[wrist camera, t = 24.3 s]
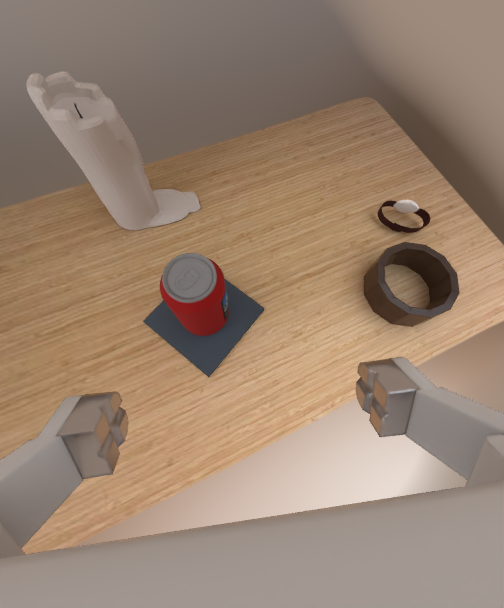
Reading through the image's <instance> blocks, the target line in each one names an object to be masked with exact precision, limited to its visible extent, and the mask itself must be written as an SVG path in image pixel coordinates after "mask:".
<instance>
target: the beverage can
mask: <svg viewBox="0 0 504 608" xmlns="http://www.w3.org/2000/svg"><path fill="white" fill-rule="evenodd" d="M160 291H161V295H162V297H163V299H164V301H165V302H166V304H167V305H168V307H169V308H170V309H171V311H172V312H173V313H174V315H175V316H176V317H177V319H178V320H179V321H180V322H181V324H182V325H183V326H184V327H185V328H186V329H187V330H188V331H189V332H191V333H192V334H195V335H198V336H208V335H212V334H214V333H216V332H218V331H219V330H220V329H221V328H222V327H223V326H224V325H225V323H226V322H227V319H228V315H229V307H228V299H227V293H226V287H225V281H224V276H223V273H222V271H221V269H220V268H219V266H218V265H217V264H216V263H215V262H213V261H212V260H210V259H208V258H206V257H205V256H203V255H200V254H196V253H186V254H182V255H179V256H177V257H175V258H174V259H172V260H171V261H170V262H169V263H168V264H167V266H166V267H165V269H164V272H163V275H162V277H161V282H160Z"/></svg>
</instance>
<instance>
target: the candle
mask: <svg viewBox="0 0 504 608" xmlns="http://www.w3.org/2000/svg"><path fill="white" fill-rule="evenodd" d="M27 90H28V93H29V95H30V97H31V99H32V101H33V102H34V104H35V105H36V107H37V108H38V110H39V111H40V113H41V114H42V116H43V117H44V118H45V120H46V121H47V123H48V124H49V126H50V127H51V129H52V130H53V131H54V133H55V134H56V136H57V137H58V138H59V140H60V141H61V142H62V144H63V145H64V146H65V147H66V149H67V150H68V151H69V153H70V154H71V155H72V157H73V158H74V159H75V161H76V162H77V163H78V165H79V166H80V168H81V169H82V171H83V172H84V174H85V175H86V177H87V178H88V180H89V182H90V183H91V185H92V186H93V188H94V190H95V191H96V193H97V194H98V196H99V197H100V199H101V200H102V202H103V203H104V205H105V206H106V208H107V209H108V211H109V212H110V213H111V215H112V216H113V218H114V219H115V221H116V222H117V224H118V225H119V226H121V227H122V228H124V229H127V230H141V229H145V228H149V227H156V226H161V225H166V224H170V223H173V222H177V221H180V220H182V219H183V218H185V217H186V216H187V215H188V213H191V212H196V211H198V210H199V209H200V208H201V206H200V205H199V200H198V197H197V196H196V194H195V193H193V192H179V191H177V190H173V189H159V190H152V189H151V186H150V184H149V182H148V180H147V177H146V175H145V171H144V164H143V160H142V157H141V155H140V152H139V149H138V146H137V144H136V142H135V140H134V138H133V136H132V135H131V133H130V131H129V130H128V128H127V127H126V125H125V123H124V121H123V120H122V118H121V116H120V115H119V113H118V111H117V109H116V107H115V106H114V104H113V102H112V100H111V99H109V98H107V97H105V96H104V94H103V92H102V91H101V89H100V88H99V87H98V85H96V84H92V83H80V82H76V81H74V80H73V78H72V77H71V75H69V73H67V72H65V71H62V72H58V73H55V74H52V75H50V76H48V77H47V78H45V79H44V78H43V77H42V76H41V75H40V74H38V73H35V74H31V75H30V77H29V78H28V81H27Z"/></svg>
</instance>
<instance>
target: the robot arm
mask: <svg viewBox="0 0 504 608" xmlns="http://www.w3.org/2000/svg"><path fill="white" fill-rule="evenodd" d="M358 374H359V375H360V376H361V377H360V379H359V380H358V381H357V382H356V395H357V399H358V402H359V404H360V406H361V408H362V409H363V410H364V411H366V412H367V413H369V414H370V422H371V424H372V425H373V427H374V429H375V430H376V432H377V433H378V435H379V437H385V436H395V435H403V434H406V436H407V437H408V438H410V439H411V440H412V441H414V442H415V443H416V444H418V445H419V446H421V447H422V448H423V449H425V450H426V451H428V452H429V453H430V454H432V455H433V456H435V457H436V458H437V459H439V460H440V461H442V462H443V463H444V464H446V465H447V466H448V467H450V468H451V469H453V470H454V471H455V472H457V473H458V474H459V475H461V476H463V477H464V478H465V479H466V480H468V481H467V483H466V486H465V487H458V488H452V489H445V490H439V491H432V492H426V493H419V494H413V495H407V496H400V497H393V498H387V499H381V500H374V501H368V502H361V503H355V504H348V505H342V506H336V507H330V508H323V509H317V510H310V511H304V512H297V513H291V514H284V515H278V516H271V517H265V518H259V519H252V520H245V521H239V522H232V523H226V524H220V525H213V526H207V527H200V528H193V529H188V530H180V531H174V532H167V533H161V534H155V535H148V536H142V537H136V538H128V539H123V540H115V541H109V542H103V543H97V544H90V545H83V546H77V547H70V548H64V549H57V550H51V551H44V552H38V553H31V554H26V553H25V552H24V551H23V550H22V547H23V546H24V545H25V544H26V543H27V542H28V541H29V540H30V538H31V537H32V536H33V535H34V534H35V533H36V532H37V531H38V530H39V529H40V527H41V526H42V525H43V524H44V523H45V522H46V521H47V520H48V519H49V518H50V516H51V515H52V514H53V513H54V512H55V511H56V510H57V509H58V508H59V507H60V505H61V504H62V503H63V502H64V501H65V500H66V499H67V498H68V497H69V496H70V494H71V493H72V492H73V491H74V490H75V489H76V488H77V487H78V486H79V485H80V483H81V482H82V481H83V479H86V478H92V477H98V476H104V475H110V474H113V471H114V468H115V466H116V463H117V460H118V458H119V455H120V453H119V450H118V447H119V446H120V445H121V444H122V443H123V442H124V441H125V438H126V436H127V432H128V416H127V413H126V411H125V410H124V409H122V408H121V407H120V405H121V402H122V399H121V396H120V394H119V393H118V392H106V393H95V394H85V395H77V396H69V397H67V398H65V399H64V400H63V401H62V403H61V404H60V406H59V407H58V408H57V410H56V411H55V413H54V414H53V415H52V417H51V418H50V420H49V421H48V422H47V424H46V425H45V427H44V428H43V429H42V431H41V432H40V434H39V435H38V436H37V438H36V439H32V440H29V441H28V442H26V443H25V444H23V445H22V446H20V447H19V448H17V449H16V450H14V451H13V452H12V453H10V454H9V455H7V456H6V457H4V458H3V459H1V460H0V608H504V413H501V412H499V411H496V410H494V409H492V408H490V407H487V406H485V405H483V404H480V403H478V402H476V401H473V400H471V399H468V398H466V397H464V396H461V395H459V394H457V393H454V392H452V391H450V390H447V389H445V388H443V387H439V388H437V387H436V386H435V385H434V384H433V383H432V382H430V380H429V379H427V377H425V376H424V375H423V374H422V373H421V372H420V371H419V370H418V369H417V368H416V367H415V366H414V365H413V364H412V363H411V362H410V361H409V360H408V359H407V358H404V357H397V358H390V359H385V360H377V361H369V362H361V363H360V364H359V366H358Z"/></svg>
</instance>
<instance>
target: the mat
mask: <svg viewBox="0 0 504 608" xmlns="http://www.w3.org/2000/svg"><path fill="white" fill-rule="evenodd" d="M224 281H225V287H226V293H227V299H228V307H229V315H228V319H227V322H226V323H225V325H224V326H223V327H222V328H221V329H220V330H219V331H218V332H216V333H214V334H212V335H208V336H198V335H195V334H192V333H191V332H189V331H188V330H187V329H186V328H185V327H184V326H183V325H182V324H181V322H180V321H179V320H178V319H177V317H176V316H175V315H174V313H173V312H172V311H171V309H170V308H169V307H168V305H167V304H166V302H165V301H164V300H163V301H162V302H161V304H160V305H159V306H158V307H157V308H156V309H155V310H154V311H153V312H152V313H151V314H150V315H149V316H148V317H147V318H146V319H145V320H144V321H143V322H145V323H146V324H147V325H148V326H149V327H150V328H152V329H153V330H154V331H155V332H156V333H158V334H159V335H160V336H161V337H162V338H163V339H165V340H166V341H167V342H168V343H169V344H171V345H172V346H173V347H174V348H175V349H176V350H178V351H179V352H180V353H181V354H182V355H184V356H185V357H186V358H187V359H188V360H189V361H191V362H192V363H193V364H194V365H195V366H197V367H198V368H199V369H200V370H201V371H202V372H204V373H205V374H206V375H207V376H208V377H209V376H210V375H211V374H212V373H213V372H214V370H215V369H216V368H217V367H218V365H219V364H220V363H221V362H222V361H223V359H224V358H225V357H226V356H227V354H228V353H229V352H230V351H231V350H232V348H233V347H234V346H235V345H236V344H237V342H238V341H239V340H240V339H241V337H242V336H243V335H244V334H245V333H246V331H247V330H248V329H249V328H250V326H251V325H252V324H253V323H254V322H255V320H256V319H257V318H258V317H259V316H260V314H261V313H262V312H263V311H264V308H263V307H262V306H260V305H259V304H258V303H256V302H255V301H254V300H252V299H251V298H250V297H248V296H247V295H246V294H244V293H243V292H242V291H240V290H239V289H238V288H236V287H235V286H234V285H232V284H231V283H230V282H228V281H227V280H225V279H224Z"/></svg>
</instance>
